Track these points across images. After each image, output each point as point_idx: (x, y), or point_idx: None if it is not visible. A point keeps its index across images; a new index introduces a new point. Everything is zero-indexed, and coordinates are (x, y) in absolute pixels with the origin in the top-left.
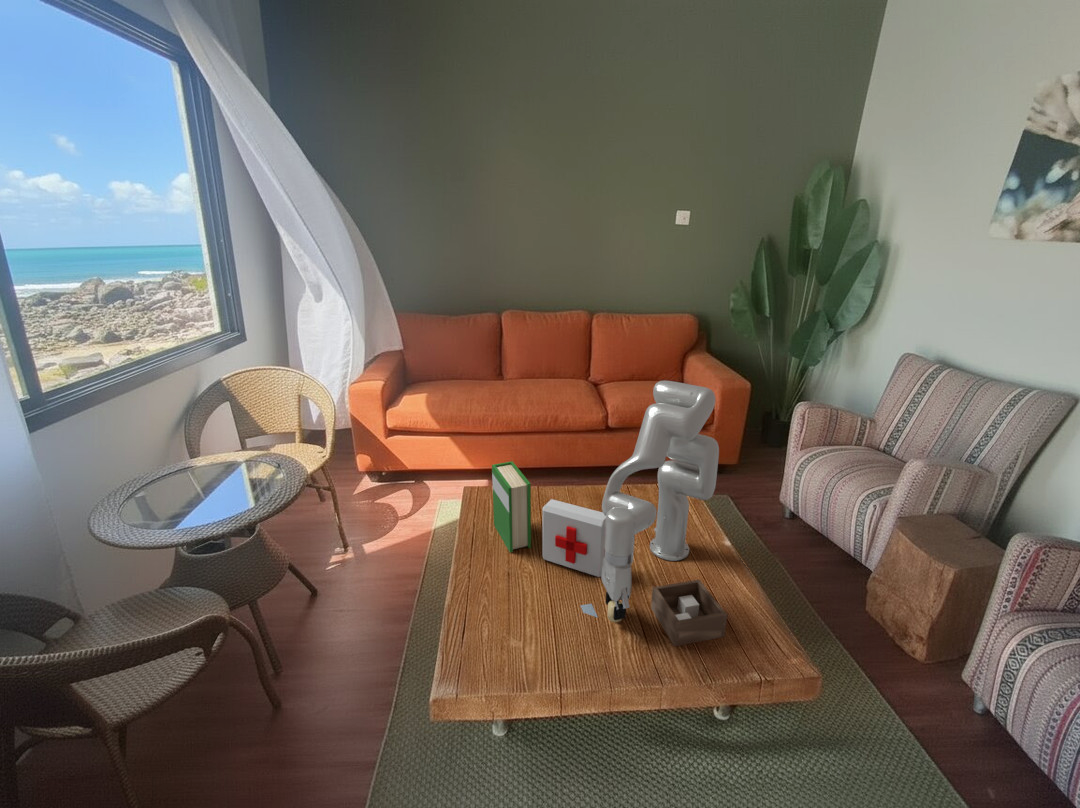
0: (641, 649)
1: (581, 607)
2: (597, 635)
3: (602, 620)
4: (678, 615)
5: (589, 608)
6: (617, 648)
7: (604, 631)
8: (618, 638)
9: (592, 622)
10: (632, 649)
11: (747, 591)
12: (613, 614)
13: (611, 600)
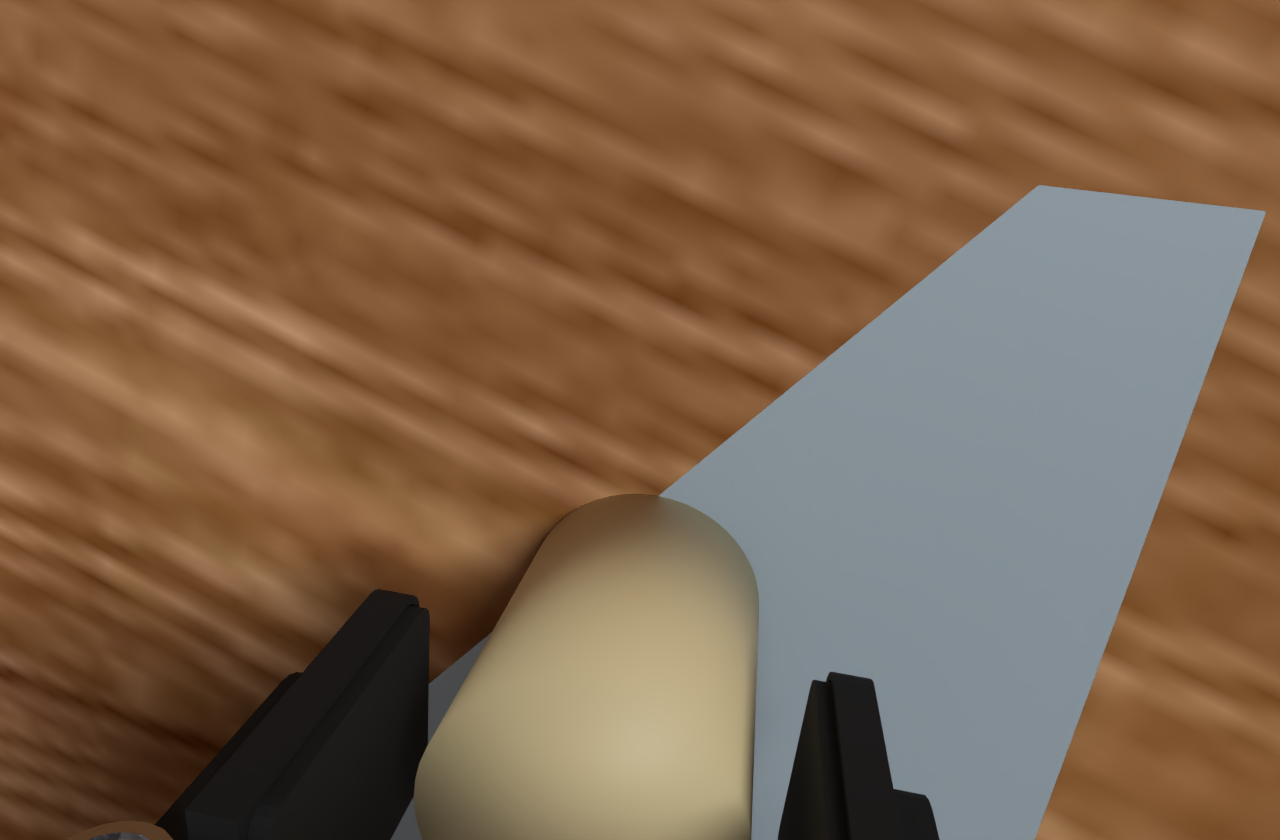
0: (81, 624)
1: (1194, 212)
2: (412, 189)
3: (700, 426)
4: None
5: (1078, 351)
6: (121, 361)
7: (465, 341)
8: (291, 465)
9: (720, 242)
10: (89, 532)
11: None
12: (488, 646)
13: (748, 836)
